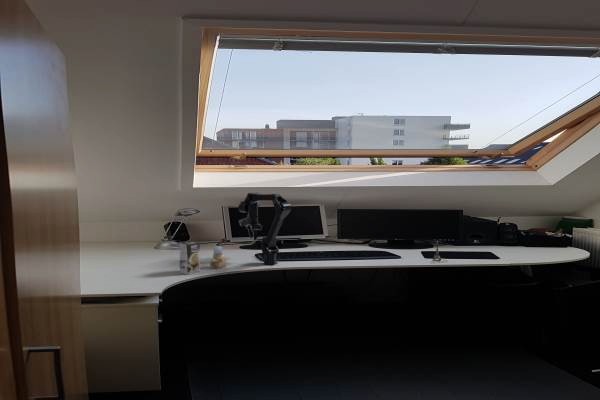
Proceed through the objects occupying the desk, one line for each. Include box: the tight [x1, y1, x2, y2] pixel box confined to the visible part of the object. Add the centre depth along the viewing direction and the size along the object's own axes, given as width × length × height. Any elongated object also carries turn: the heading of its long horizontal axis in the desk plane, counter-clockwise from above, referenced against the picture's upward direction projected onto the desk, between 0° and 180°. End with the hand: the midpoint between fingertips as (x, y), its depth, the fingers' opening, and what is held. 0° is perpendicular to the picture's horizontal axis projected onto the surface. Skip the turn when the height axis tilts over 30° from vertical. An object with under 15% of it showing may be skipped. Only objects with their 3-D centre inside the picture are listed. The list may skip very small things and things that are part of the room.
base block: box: [210, 259, 227, 270], centre depth 247 cm, size 6×6×4 cm
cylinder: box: [213, 245, 223, 254], centre depth 247 cm, size 4×4×4 cm
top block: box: [212, 252, 225, 262], centre depth 247 cm, size 5×5×4 cm
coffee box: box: [179, 240, 201, 275], centre depth 235 cm, size 9×6×16 cm
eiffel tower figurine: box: [430, 240, 449, 264], centre depth 268 cm, size 15×10×13 cm
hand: (253, 239), depth 265 cm, fingers open, 9 cm apart
